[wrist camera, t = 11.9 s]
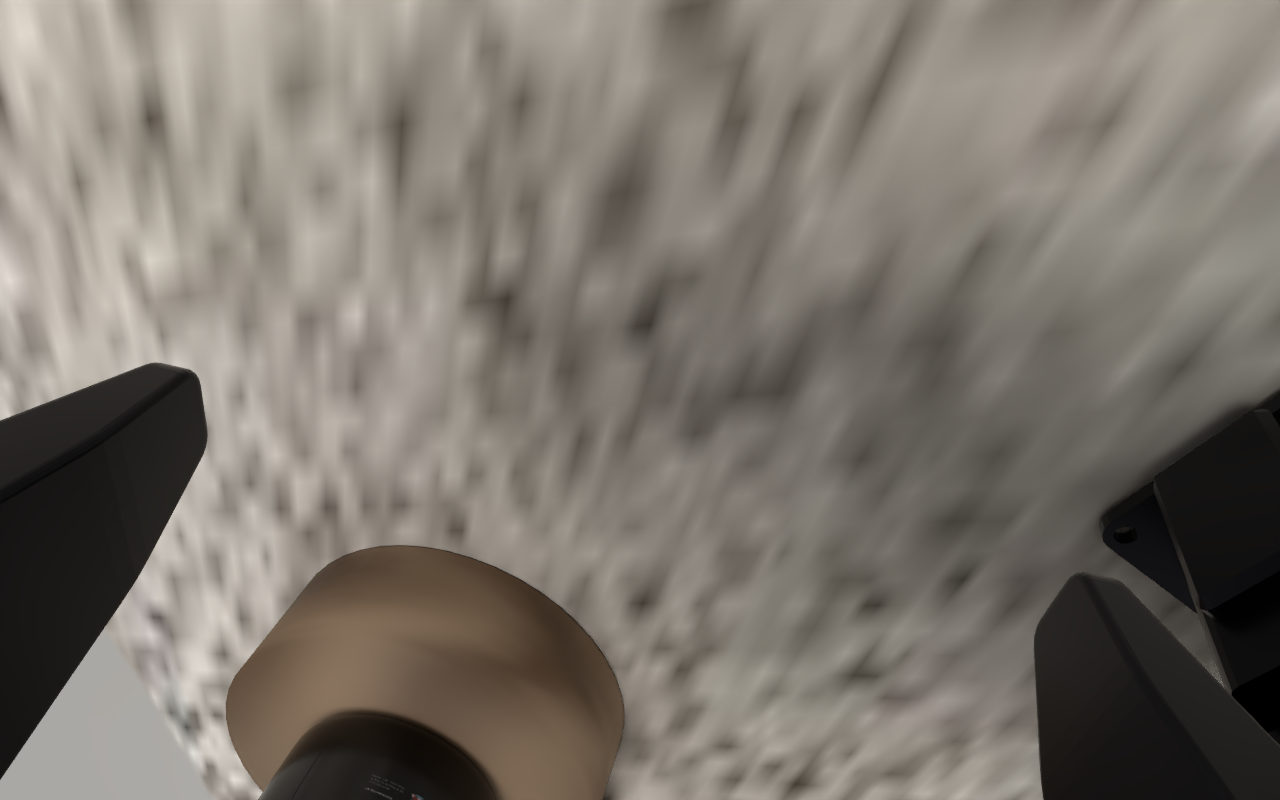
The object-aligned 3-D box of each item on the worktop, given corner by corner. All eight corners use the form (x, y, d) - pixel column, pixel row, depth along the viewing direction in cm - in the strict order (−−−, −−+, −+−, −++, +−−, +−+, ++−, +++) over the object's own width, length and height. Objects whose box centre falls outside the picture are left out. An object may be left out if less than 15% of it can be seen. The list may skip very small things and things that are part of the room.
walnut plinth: (695, 696, 29) (667, 808, 25) (518, 836, 35) (478, 939, 32) (374, 481, 27) (301, 570, 24) (253, 669, 34) (182, 759, 31)
